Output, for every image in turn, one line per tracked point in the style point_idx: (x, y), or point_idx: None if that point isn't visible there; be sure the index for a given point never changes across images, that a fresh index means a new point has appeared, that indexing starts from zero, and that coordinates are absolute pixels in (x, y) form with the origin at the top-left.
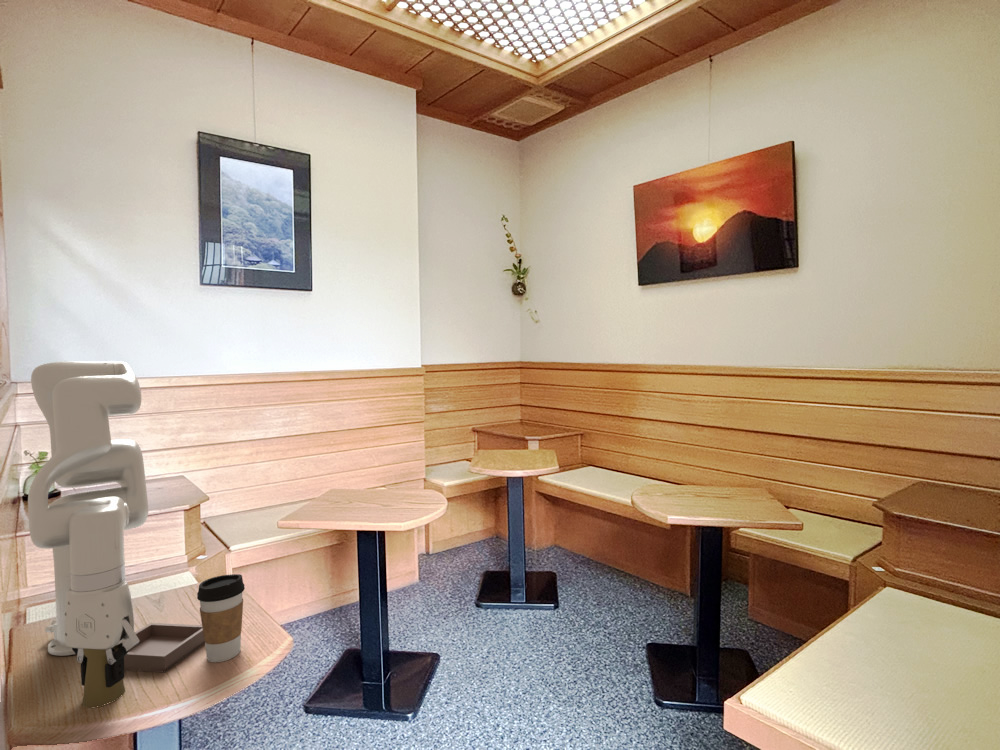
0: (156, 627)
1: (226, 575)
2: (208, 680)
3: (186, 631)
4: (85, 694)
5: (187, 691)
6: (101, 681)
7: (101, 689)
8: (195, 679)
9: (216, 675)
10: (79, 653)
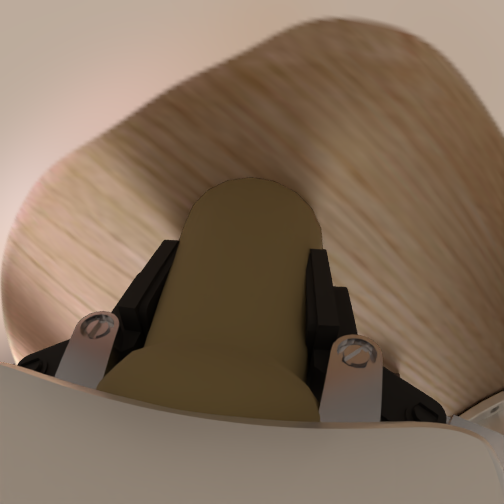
0: None
1: None
2: (33, 315)
3: None
4: (271, 205)
5: (30, 276)
6: (184, 247)
7: (193, 226)
8: (60, 322)
9: (37, 332)
10: (365, 387)
